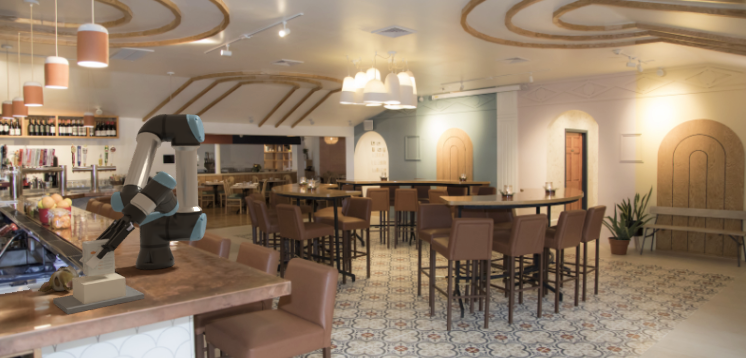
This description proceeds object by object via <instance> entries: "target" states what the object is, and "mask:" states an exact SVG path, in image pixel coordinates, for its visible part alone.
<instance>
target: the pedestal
mask: <svg viewBox="0 0 746 358" xmlns="http://www.w3.org/2000/svg"><path fill="white" fill-rule="evenodd" d="M72 282H73V289H72V294H70V295H63V296H59V297H58V296H57V297H54V298H53V300H52V301H53V302H52V303H53V304H54V305H55V306H57V308H59V309H60V310H61V311H63V312H64V313H65V314H67V315H71V314H77V313H81V312H85V311H87V312H88V311H90V310H96V309H100V308H106V307H110V306H116V305H119V304H123V303H129V302H134V301H137V300H143V299H145V293H143V292H141V291H139V290H137V289H135V288H133V287H131V286H129V285H128V284H126V277H125V276H122V275H121V274H118V273H117V272H113V273H107V274H101V275H95V276H89V277H88V276H87V275H82V276H79V277H76V278H72Z"/></svg>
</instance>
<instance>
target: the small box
mask: <svg viewBox="0 0 746 358" xmlns="http://www.w3.org/2000/svg"><path fill="white" fill-rule="evenodd" d="M108 240H109V239H103V240H96V239H94V240H88V241H87V240H85V241H82V242H81V246H82V248H81V249H82V257H83V263H82V270H83V271H82V272H83V273H82V274H83V275H84V276H88V277H89V276H95V275H101V274H107V273H113V272H114V273H116V272H115V271H116V266H115V265H116V263H115V250H114V251H111V252H109V253H108V254H107V255H106V256H105V257H104V258H103V259H102V260H101V261H100V262H99V263H98V264H97V265H96V266H95V267H94V269H92V268H91V267H89V266H88V265H87V264H85V263H86V262H87V261H88V260H89V259H90V258H91V257H92V256H93V255H94V254H95V253H96V252H97V251H98V250H99V249H100V248H101V245H105V244H106V243H107V241H108ZM102 248H103V247H102ZM103 249H104V248H103Z"/></svg>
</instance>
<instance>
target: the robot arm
mask: <svg viewBox="0 0 746 358" xmlns="http://www.w3.org/2000/svg"><path fill="white" fill-rule="evenodd" d="M135 137H136V138H135V141H136V143H137V144H136V146H135V148H134V153H133V155H132V158H131V161H130V165H129V167H128V170H127V173H126V176H125V179H124V183H123V186H122V189H121V190H119V191H114V192H113V193H112V195H111V196H110V206H111V208H112V210H113V211H114V212H116V213H122V214H123V216H122V217H121V218H119V219H114V220H113V221H112V223H110V224H109V226H108V227H107V228H106V229H104V231H103V232H102V233H100V235H99V236H98V237H97V238H96V239H95V240H103V239H109V240H108V241H107V243H106V244H105V245H101V248H100V249H99V250H98V251H97V252H96V253H95V254H94V255H93V256H92V257H91V258H90V259H89V260H88V261H87V262H86V263H85V264H87V265H88V266H89V267H91V268H92V269H94V267H95V266H96V265H97V264H98V263H99V262H100V261H101V260H102V259H103V258H104V257H105V256H106V255H107V254H108V253H109V252H111V251H114V252H115V251H116V249H117V248H118V247H119V246H120V245H121V243H122V242H123V241H124V240H125V239H126V238H127V237H128V236H129V234H131V233H132V232H133V231H134V230H136V227H135V226H134V225H135V224H136V225H138V226H139V251H138V254H137V256H136V261H135V268H136V269H138V270H160V269H166V268H170V267H173V266H174V265H175V263H176V262H175V257H174V254H173V251H172V248H171V245H170V244H171V242H194V241H201V240H202V239H203V237H204V236H205V233H206V229H207V222H208V220H207V219H208V218H207V214H206V213H205V212H204V213H203V209H202V207H200V206H199V192H198V191H199V190H198V189H199V188H198V187H199V186H198V149H200V148H201V143H204V141H205V127H204V124H203V121H202V119H201V117H200V116H199V115H196V114H189V113H187V114H186V113H185V114H182V113H181V114H180V113H179V114H174V113H173V114H170V113H169V114H168V113H162V114H156V115H154V116H152V117H151V118H149V119H148V120H147V121H145V122H144V123H143V124H142V126H141V127H140V128H139V130H138V131H137V134H136V136H135ZM162 143H170V147H171V148H173V150H174V154H175V155H174V156H175V157H174V161H175V178H174V177H173V176H172V175H171V174H170V173H167V172H166V171H163V170H161V171H159V172H157V173H156V174H155V175H154V176H153V177H152V178H151V179H150V180H149V177H150V174H151V171H152V167H153V163H154V160H155V157H156V154H157V150H158V149H159V148H160V147H161V145H162ZM148 180H149V182H148ZM174 189H176V190H175V191H176V192H175V193H176V195H175V194H174V191H173V190H174ZM102 247H103V248H104V249H103V248H102ZM78 261H79V262H80V263H81V264H83V256H82V257H80V259H79V260H78Z"/></svg>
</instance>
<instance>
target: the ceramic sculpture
mask: <svg viewBox="0 0 746 358" xmlns="http://www.w3.org/2000/svg"><path fill="white" fill-rule="evenodd" d="M76 277H80V274H79V273H78V271H77V269H76V268H74V267H73V266H72V265H71V264H69V265H68V266H64V265H62V266H59V267H58V268H57V270H55V271H54V272H53V273H52V274H51V275H50V278H49V279H48V281H45V282H43V284H41V286H40V287H39V289H38V290H37V291H38V292H42V293H47V292H48V293H49V292H50V291H51V290H53V291H55V292H63V291H64V290H65V291H73V282H72V278H76Z"/></svg>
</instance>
